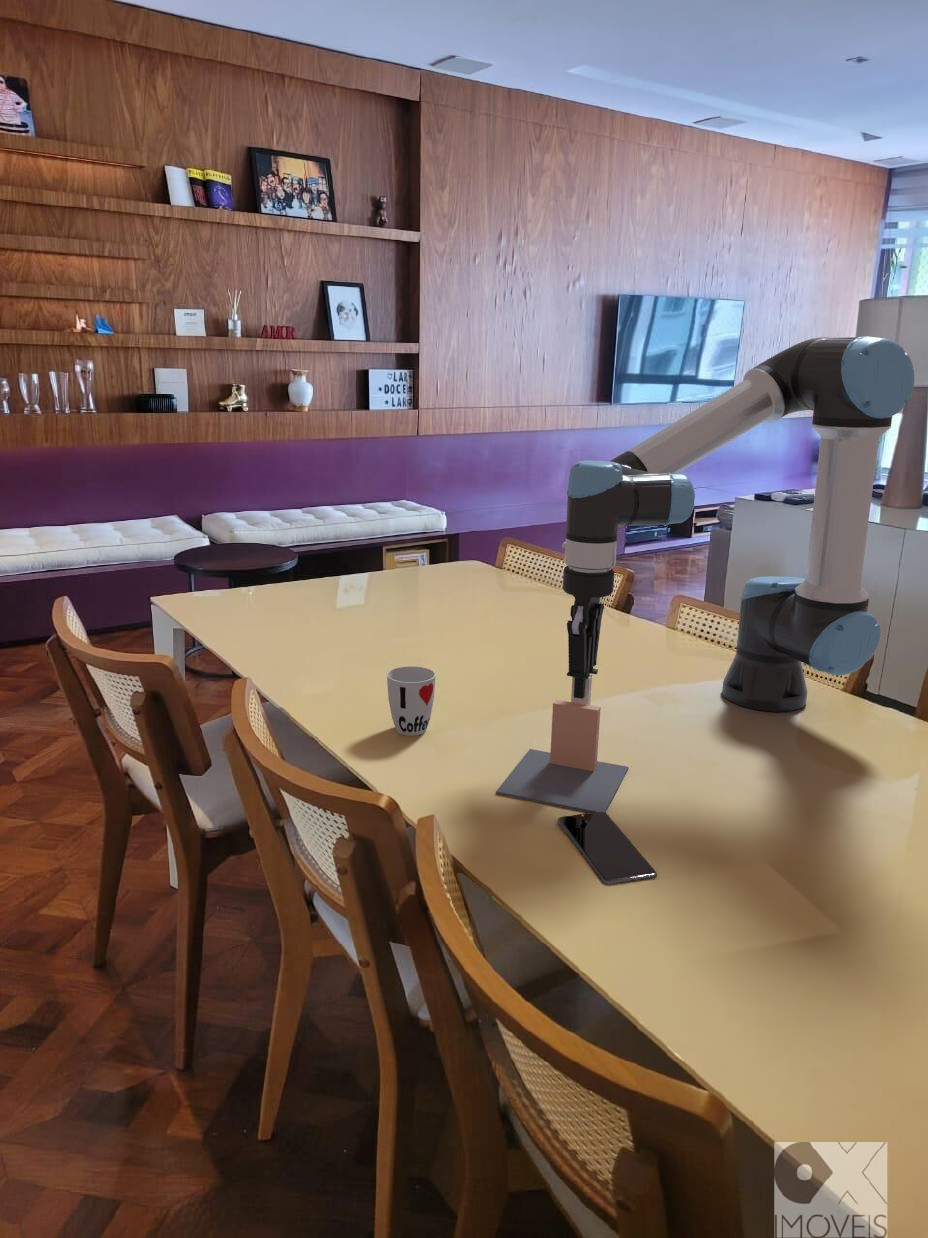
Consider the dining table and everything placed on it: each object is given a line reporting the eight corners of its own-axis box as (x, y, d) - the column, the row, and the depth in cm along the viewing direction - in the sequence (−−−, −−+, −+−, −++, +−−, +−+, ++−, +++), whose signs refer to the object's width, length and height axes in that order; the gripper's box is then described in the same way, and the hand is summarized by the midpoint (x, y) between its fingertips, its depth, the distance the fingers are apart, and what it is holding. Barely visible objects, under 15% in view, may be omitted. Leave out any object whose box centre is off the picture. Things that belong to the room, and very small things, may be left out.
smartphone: (605, 882, 110) (556, 816, 124) (604, 890, 110) (555, 823, 125) (659, 874, 112) (605, 810, 126) (659, 881, 112) (605, 817, 127)
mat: (628, 769, 141) (628, 766, 141) (604, 815, 126) (604, 813, 126) (529, 751, 146) (529, 748, 146) (495, 793, 132) (496, 791, 132)
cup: (392, 741, 149) (391, 684, 146) (383, 722, 156) (382, 667, 153) (440, 737, 151) (440, 680, 148) (428, 718, 158) (429, 664, 156)
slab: (596, 767, 140) (600, 706, 137) (594, 771, 139) (598, 710, 136) (552, 759, 143) (555, 699, 140) (549, 763, 141) (552, 703, 138)
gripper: (576, 555, 142) (568, 697, 149) (552, 573, 130) (544, 725, 137) (623, 560, 139) (613, 704, 146) (603, 579, 128) (592, 734, 134)
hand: (579, 714), depth 141 cm, fingers closed
